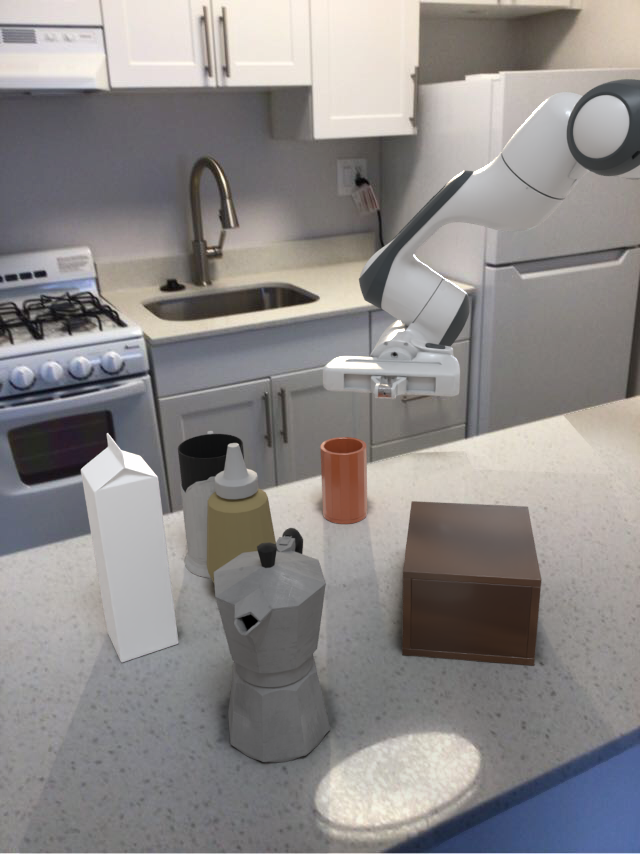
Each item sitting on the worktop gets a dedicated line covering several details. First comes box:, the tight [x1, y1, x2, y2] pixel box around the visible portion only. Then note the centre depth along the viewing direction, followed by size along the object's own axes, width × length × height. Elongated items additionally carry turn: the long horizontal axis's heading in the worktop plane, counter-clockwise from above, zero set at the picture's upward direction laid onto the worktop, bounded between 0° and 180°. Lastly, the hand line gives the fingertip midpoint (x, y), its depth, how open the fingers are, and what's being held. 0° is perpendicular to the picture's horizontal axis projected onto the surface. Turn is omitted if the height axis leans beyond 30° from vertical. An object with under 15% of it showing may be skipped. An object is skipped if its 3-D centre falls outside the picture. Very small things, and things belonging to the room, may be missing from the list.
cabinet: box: [401, 500, 542, 667], centre depth 78 cm, size 15×13×10 cm
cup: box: [319, 436, 368, 525], centre depth 101 cm, size 6×6×10 cm
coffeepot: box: [213, 527, 331, 763], centre depth 64 cm, size 15×9×18 cm, turn 167°
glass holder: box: [177, 430, 245, 579], centre depth 92 cm, size 9×14×15 cm, turn 9°
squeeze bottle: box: [207, 443, 277, 584], centre depth 83 cm, size 8×8×18 cm
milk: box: [80, 432, 179, 663], centre depth 74 cm, size 6×6×22 cm
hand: (384, 393), depth 106 cm, fingers closed
